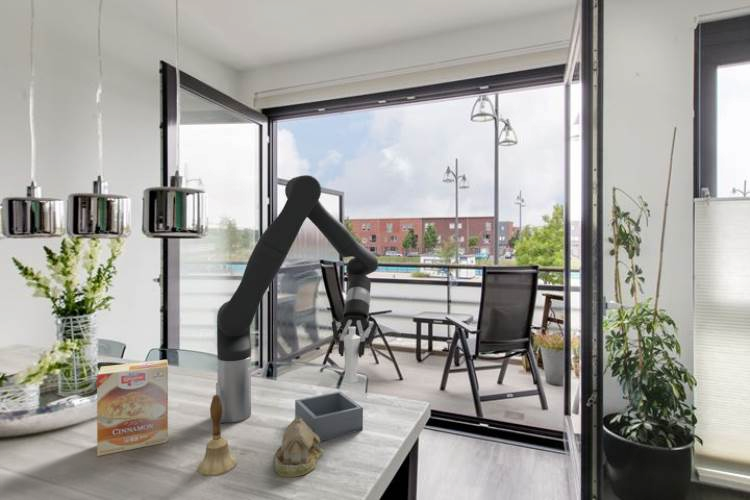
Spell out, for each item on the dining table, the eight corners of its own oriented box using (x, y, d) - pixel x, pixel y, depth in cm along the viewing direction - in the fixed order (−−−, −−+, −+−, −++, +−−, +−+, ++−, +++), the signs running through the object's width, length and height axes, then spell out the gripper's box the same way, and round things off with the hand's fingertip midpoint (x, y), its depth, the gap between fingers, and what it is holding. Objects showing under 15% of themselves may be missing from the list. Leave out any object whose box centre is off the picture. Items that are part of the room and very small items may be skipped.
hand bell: (197, 479, 87) (197, 405, 87) (197, 460, 95) (197, 391, 95) (238, 471, 91) (238, 399, 90) (235, 453, 98) (235, 387, 98)
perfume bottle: (356, 383, 113) (358, 329, 113) (341, 382, 114) (343, 328, 114) (360, 378, 118) (362, 326, 117) (346, 377, 118) (347, 325, 118)
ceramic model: (277, 446, 102) (277, 406, 102) (323, 444, 103) (323, 405, 103) (268, 479, 88) (268, 433, 88) (321, 476, 89) (321, 431, 89)
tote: (314, 442, 104) (314, 418, 104) (295, 421, 116) (295, 400, 116) (362, 429, 111) (362, 407, 111) (340, 411, 123) (340, 391, 123)
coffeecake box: (96, 457, 96) (95, 374, 96) (100, 443, 102) (100, 365, 102) (168, 443, 103) (168, 365, 103) (167, 431, 109) (167, 358, 109)
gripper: (332, 297, 123) (323, 347, 112) (380, 298, 122) (376, 349, 110) (335, 311, 129) (326, 361, 117) (380, 313, 128) (377, 363, 116)
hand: (350, 355), depth 114 cm, fingers closed on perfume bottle, 4 cm apart
